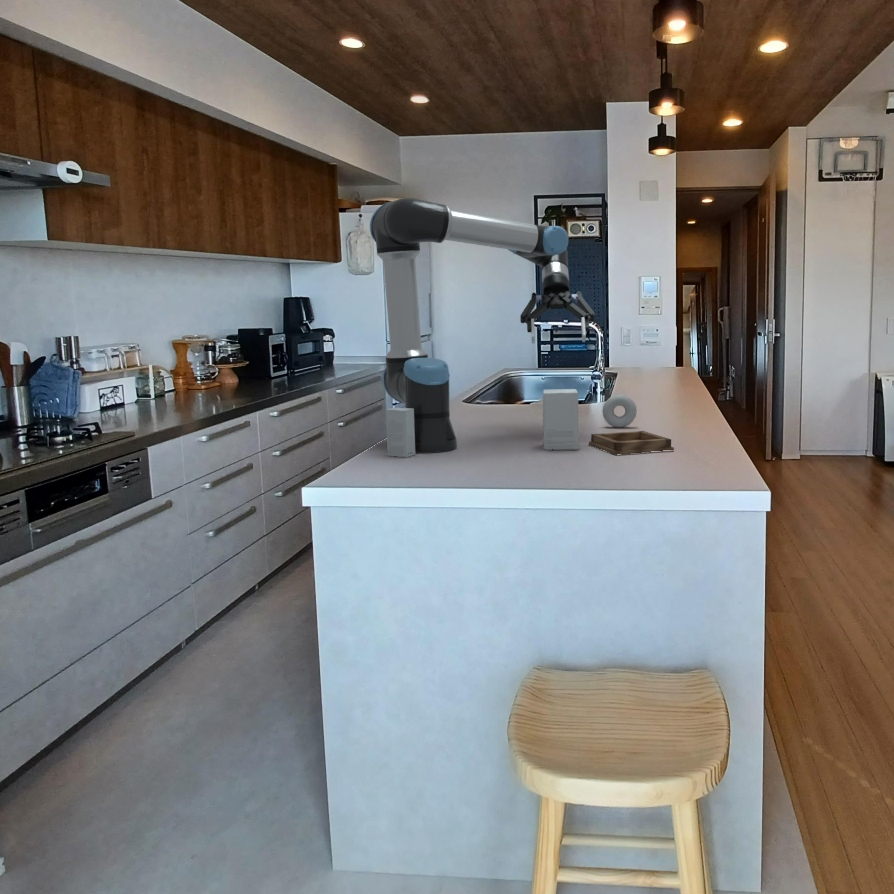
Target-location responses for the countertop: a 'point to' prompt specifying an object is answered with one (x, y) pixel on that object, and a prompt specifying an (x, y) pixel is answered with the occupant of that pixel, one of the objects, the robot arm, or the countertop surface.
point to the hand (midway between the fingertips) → (558, 339)
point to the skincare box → (400, 432)
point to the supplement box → (560, 419)
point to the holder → (630, 442)
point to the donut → (614, 402)
